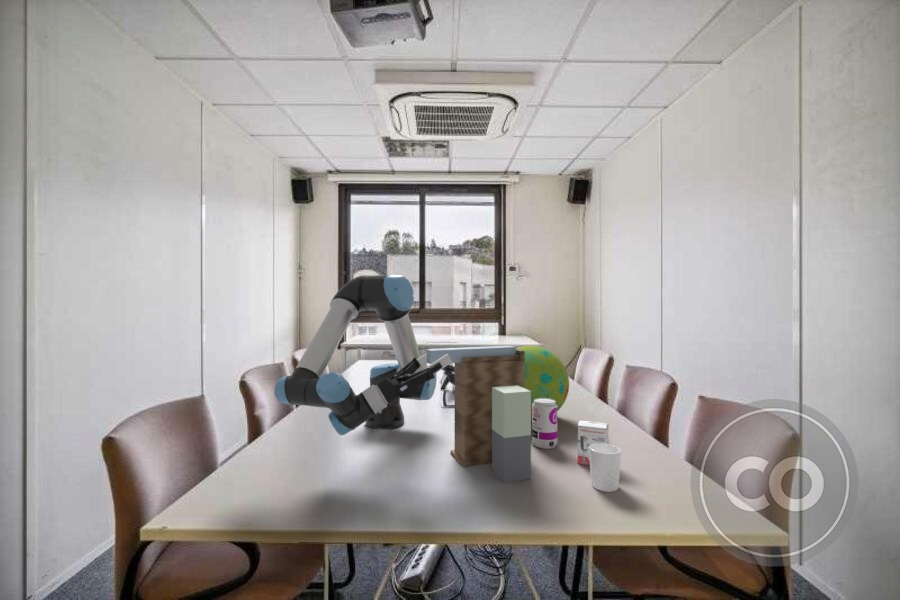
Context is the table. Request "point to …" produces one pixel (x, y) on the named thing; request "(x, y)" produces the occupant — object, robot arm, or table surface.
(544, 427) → the supplement can
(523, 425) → the upper block
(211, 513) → the table surface
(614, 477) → the white cup
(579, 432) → the ink box
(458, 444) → the stand
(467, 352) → the pale blue bar
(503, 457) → the lower block
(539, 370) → the globe
